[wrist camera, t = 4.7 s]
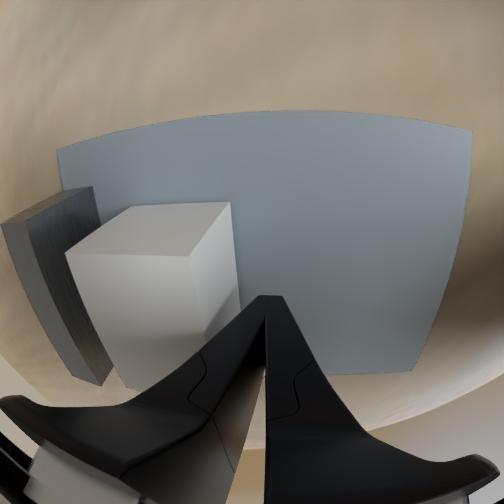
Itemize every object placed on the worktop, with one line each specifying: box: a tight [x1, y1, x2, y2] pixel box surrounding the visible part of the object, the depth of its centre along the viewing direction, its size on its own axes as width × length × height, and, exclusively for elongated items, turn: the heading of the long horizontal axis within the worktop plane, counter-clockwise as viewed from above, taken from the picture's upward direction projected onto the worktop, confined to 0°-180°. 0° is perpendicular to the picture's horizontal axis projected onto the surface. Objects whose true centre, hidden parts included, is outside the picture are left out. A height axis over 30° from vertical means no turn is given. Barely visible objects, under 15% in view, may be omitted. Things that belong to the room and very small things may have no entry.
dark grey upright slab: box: [1, 186, 114, 386], centre depth 10 cm, size 2×8×4 cm, turn 4°
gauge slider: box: [65, 202, 241, 392], centre depth 10 cm, size 4×9×4 cm, turn 4°
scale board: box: [57, 111, 473, 376], centre depth 11 cm, size 17×12×2 cm
